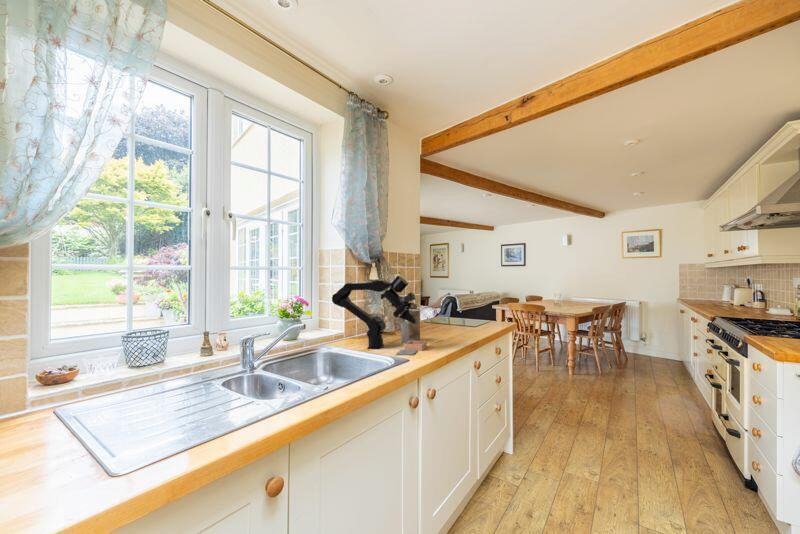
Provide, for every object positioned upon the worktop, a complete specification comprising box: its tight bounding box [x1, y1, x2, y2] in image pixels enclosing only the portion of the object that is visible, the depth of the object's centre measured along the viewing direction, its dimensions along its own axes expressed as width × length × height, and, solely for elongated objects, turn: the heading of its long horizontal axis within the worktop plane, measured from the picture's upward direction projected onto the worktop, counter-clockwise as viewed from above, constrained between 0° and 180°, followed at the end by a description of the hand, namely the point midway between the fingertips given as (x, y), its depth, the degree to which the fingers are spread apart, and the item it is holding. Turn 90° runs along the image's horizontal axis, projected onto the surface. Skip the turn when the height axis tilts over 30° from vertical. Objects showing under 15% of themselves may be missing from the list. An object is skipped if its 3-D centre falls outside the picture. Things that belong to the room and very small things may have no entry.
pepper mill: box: [407, 303, 421, 339], centre depth 165 cm, size 6×6×16 cm
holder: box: [403, 340, 428, 352], centre depth 166 cm, size 9×9×3 cm
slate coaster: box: [396, 349, 418, 356], centre depth 157 cm, size 8×8×1 cm
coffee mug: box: [400, 321, 421, 345], centre depth 184 cm, size 13×10×10 cm
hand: (416, 321), depth 164 cm, fingers closed on pepper mill, 6 cm apart
